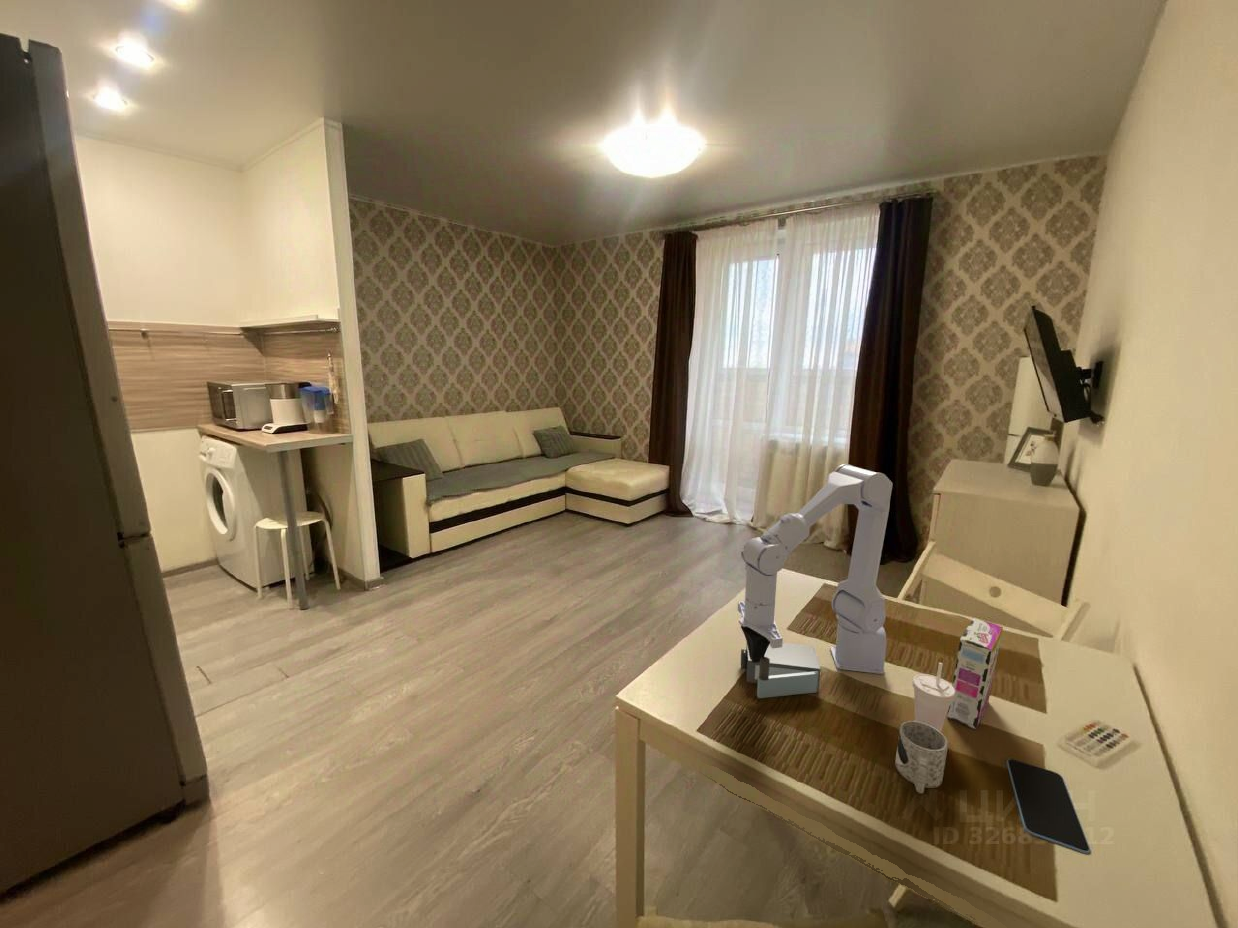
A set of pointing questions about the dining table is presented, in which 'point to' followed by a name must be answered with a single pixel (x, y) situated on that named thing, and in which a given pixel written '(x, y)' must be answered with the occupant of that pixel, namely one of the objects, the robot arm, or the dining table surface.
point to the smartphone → (1046, 806)
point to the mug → (921, 754)
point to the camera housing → (783, 661)
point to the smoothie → (932, 698)
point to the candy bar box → (974, 672)
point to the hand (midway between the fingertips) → (756, 660)
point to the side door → (784, 682)
